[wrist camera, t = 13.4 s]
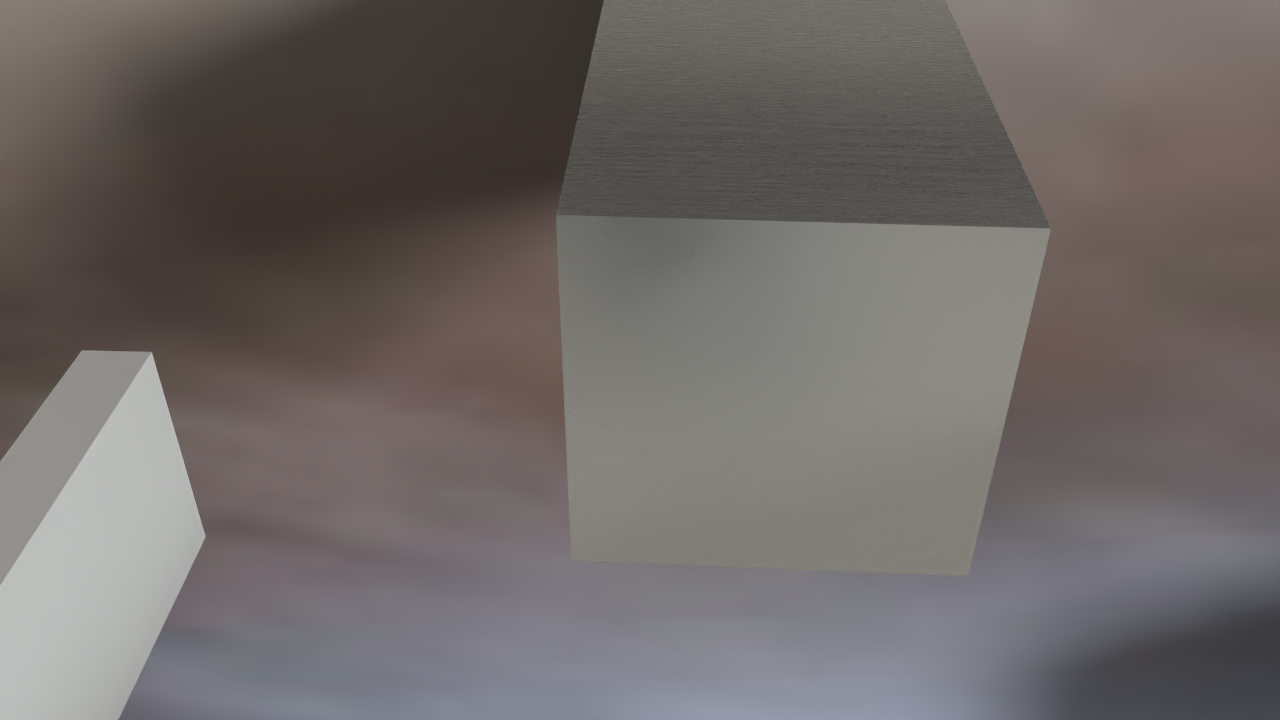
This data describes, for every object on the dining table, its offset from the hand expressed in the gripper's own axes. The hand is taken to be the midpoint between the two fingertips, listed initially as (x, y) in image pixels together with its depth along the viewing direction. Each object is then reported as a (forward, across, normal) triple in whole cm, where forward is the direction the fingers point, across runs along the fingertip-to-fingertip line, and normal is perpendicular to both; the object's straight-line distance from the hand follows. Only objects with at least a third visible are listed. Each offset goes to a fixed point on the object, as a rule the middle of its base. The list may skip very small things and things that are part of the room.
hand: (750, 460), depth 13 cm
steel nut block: (+14, -1, 0) cm, 14 cm away
